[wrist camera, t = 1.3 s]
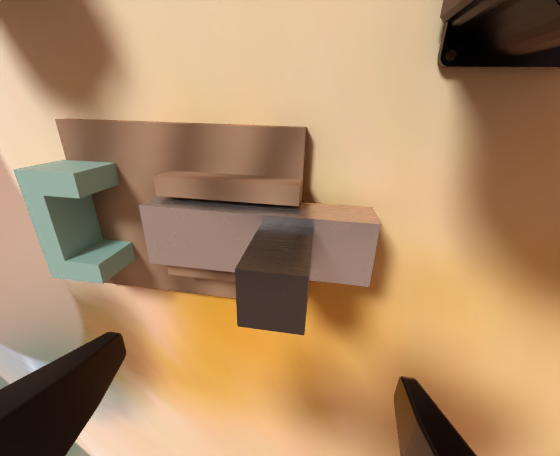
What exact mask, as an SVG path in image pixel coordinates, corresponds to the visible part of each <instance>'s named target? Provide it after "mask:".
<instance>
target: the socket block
mask: <svg viewBox="0 0 560 456" xmlns="http://www.w3.org/2000/svg"><path fill="white" fill-rule="evenodd" d="M14 173H15V176H16V178H17V181H18V184H19V187H20V190H21V192H22V195H23V198H24V201H25V204H26V206H27V209H28V212H29V215H30V217H31V220H32V223H33V226H34V229H35V232H36V234H37V237H38V240H39V243H40V245H41V248H42V251H43V254H44V257H45V259H46V262H47V265H48V268H49V271H50V273H51V276H52V278H59V279H67V280H76V281H84V282H92V283H100V284H104V283H105V282H106V281H108V280H109V279H110V278H111V277H113V276H114V275H115V274H117V273H118V272H119V271H120V270H122V269H123V268H124V267H125V266H127V265H128V264H129V263H131V262H132V261H133V260H134V259H135V255H134V250H133V245H132V242H127V241H116V240H106V239H103V238H102V234H101V230H100V226H99V222H98V218H97V215H96V211H95V207H94V203H93V199H92V195H91V194H94V193H96V192H99V191H102V190H105V189H108V188H110V187H113V186H116V185H119V179H118V174H117V169H116V165H115V163H109V162H91V161H74V160H61V161H56V162H51V163H46V164H40V165H35V166H30V167H25V168H20V169H15V170H14Z"/></svg>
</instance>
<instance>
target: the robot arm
mask: <svg viewBox="0 0 560 456" xmlns="http://www.w3.org/2000/svg"><path fill="white" fill-rule="evenodd" d="M440 18H441V20H442V21H443V22H445V26H444V30H443V35H442V40H441V44H440V49H439V53H438V63H439V65H440V66H441V67H445V68H560V0H444V1H443V5H442V10H441V15H440ZM448 51H450V52H452V53H453V58H452V60H451V61H447V60H446V53H447V52H448ZM125 356H126V348H125V344H124V340H123V337H122V335H121V334H120V333H115V332H107V333H105V334H103V335H101V336H100V337H98V338H96V339H94V340H92V341H90V342H88V343H86V344H85V345H83V346H81V347H79V348H77V349H75V350H73V351H72V352H70V353H68V354H66V355H64V356H62V357H60V358H58V359H57V360H55V361H53V362H51V363H49V364H47V365H45V366H43V367H42V368H40V369H38V370H36V371H34V372H32V373H30V374H28V375H27V376H25V377H23V378H21V379H19V380H17V381H15V382H13V383H12V384H10V385H8V386H6V387H4V388H2V389H1V390H0V456H65V455H66V454H67V452H68V451H69V449H70V448H71V447H72V445H73V443H74V442H75V440H76V439H77V437H78V436H79V434H80V433H81V431H82V430H83V428H84V427H85V425H86V424H87V422H88V421H89V419H90V418H91V416H92V415H93V413H94V412H95V410H96V409H97V407H98V405H99V404H100V402H101V400H102V399H103V397H104V395H105V393H106V391H107V390H108V388H109V386H110V384H111V382H112V381H113V379H114V377H115V375H116V373H117V371H118V370H119V368H120V366H121V364H122V362H123V360H124V358H125ZM394 406H395V414H396V422H397V430H398V439H399V447H400V455H401V456H477V455H476V454H475V453H474V452H473V450H472V449H471V448H470V447H469V445H468V444H467V443H466V442H465V440H464V439H463V438H462V437H461V435H460V434H459V433H458V432H457V430H456V429H455V428H454V427H453V425H452V424H451V423H450V421H449V420H448V419H447V418H446V416H445V415H444V414H443V413H442V411H441V410H440V409H439V408H438V406H437V405H436V404H435V403H434V401H433V400H432V399H431V398H430V396H429V395H428V394H427V393H426V391H425V390H424V389H423V388H422V386H421V385H420V384H419V383H418V381H417V380H416V379H414V378H410V377H404V376H401V377H400V378H399V380H398V384H397V387H396V391H395V394H394Z"/></svg>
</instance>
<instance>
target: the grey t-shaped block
mask: <svg viewBox="0 0 560 456" xmlns="http://www.w3.org/2000/svg"><path fill="white" fill-rule="evenodd" d="M139 209H140V215H141V220H142V225H143V231H144V236H145V241H146V247H147V252H148V257H149V263H152V264H161V265H171V266H180V267H189V268H199V269H208V270H217V271H227V272H235V283H236V304H237V325H238V326H239V327H247V328H254V329H262V330H269V331H277V332H284V333H291V334H299V335H304V332H305V322H306V312H307V302H308V293H309V283H310V281H319V282H329V283H338V284H347V285H357V286H366V287H369V286H370V280H371V275H372V269H373V264H374V258H375V253H376V247H377V242H378V237H379V231H380V226H381V224H380V222H379V220H378V217H377V215H376V213H375V211H374V209H373V207H360V206H346V205H332V204H318V203H304V202H300V204H299V206H288V205H274V204H261V203H247V202H233V201H219V200H206V199H192V198H178V197H164V196H156V197H154V198H152V199H150V200H148V201H146V202H144V203H142V204H140V205H139Z"/></svg>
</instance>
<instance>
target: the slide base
mask: <svg viewBox="0 0 560 456" xmlns="http://www.w3.org/2000/svg"><path fill="white" fill-rule="evenodd" d="M55 121H56V124H57V128H58V131H59V135H60V139H61V142H62V146H63V149H64V153H65V157H66V160H74V161H91V162H109V163H115V165H116V169H117V174H118V179H119V185H116V186H113V187H110V188H108V189H105V190H102V191H99V192H96V193H94V194H91V195H92V199H93V203H94V207H95V211H96V215H97V218H98V222H99V226H100V230H101V234H102V238H103V239H106V240H116V241H127V242H132V245H133V250H134V255H135V259H134V260H133V261H132V262H131V263H129V264H128V265H127V266H125V267H124V268H123V269H122V270H120V271H119V272H118V273H117V274H115V275H114V276H113V277H111V278H110V279H109V280H108V281H106V282H105V283H113V284H121V285H129V286H138V287H146V288H154V289H163V290H171V291H179V292H188V293H196V294H204V295H213V296H221V297H229V298H236V283H235V272H227V271H217V270H208V269H199V268H189V267H180V266H171V265H161V264H152V263H149V257H148V252H147V247H146V241H145V236H144V231H143V225H142V220H141V215H140V209H139V205H140V204H142V203H144V202H146V201H148V200H150V199H152V198H154V197H156V196H164V197H178V198H192V199H206V200H219V201H233V202H247V203H261V204H274V205H288V206H299V204H300V202H302V197H303V180H304V163H305V146H306V129H307V127H289V126H261V125H232V124H203V123H174V122H146V121H117V120H88V119H55Z"/></svg>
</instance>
